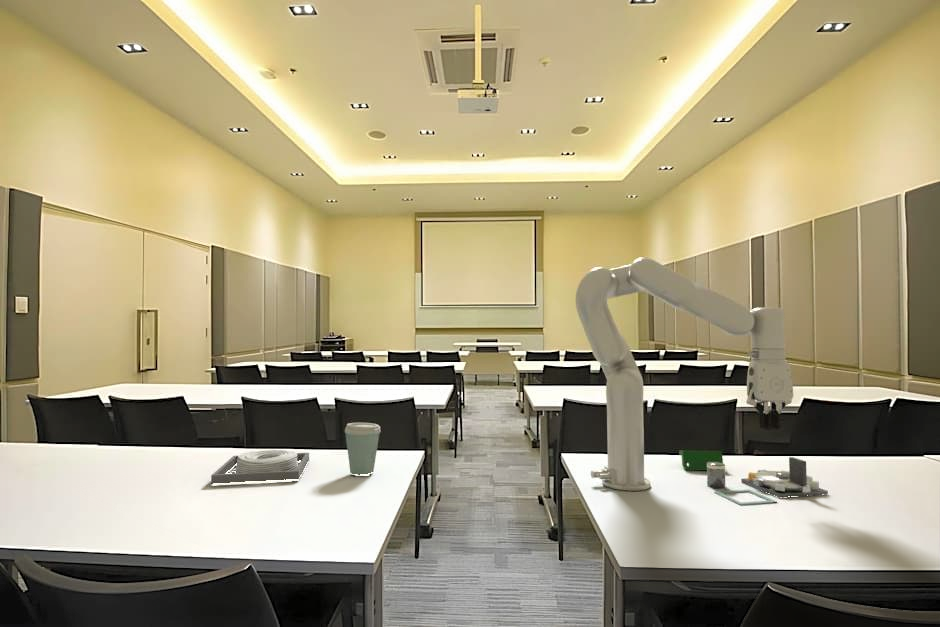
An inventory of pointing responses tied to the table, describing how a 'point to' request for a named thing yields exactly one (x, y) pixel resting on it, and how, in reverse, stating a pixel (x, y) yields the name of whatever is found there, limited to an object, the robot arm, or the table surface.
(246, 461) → the cable
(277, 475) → the cable tray
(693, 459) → the green mounting bracket
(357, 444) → the disposable coffee cup
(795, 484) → the sprocket
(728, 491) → the seat bay
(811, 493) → the sprocket base
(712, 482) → the silver metal cylinder
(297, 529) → the table surface
